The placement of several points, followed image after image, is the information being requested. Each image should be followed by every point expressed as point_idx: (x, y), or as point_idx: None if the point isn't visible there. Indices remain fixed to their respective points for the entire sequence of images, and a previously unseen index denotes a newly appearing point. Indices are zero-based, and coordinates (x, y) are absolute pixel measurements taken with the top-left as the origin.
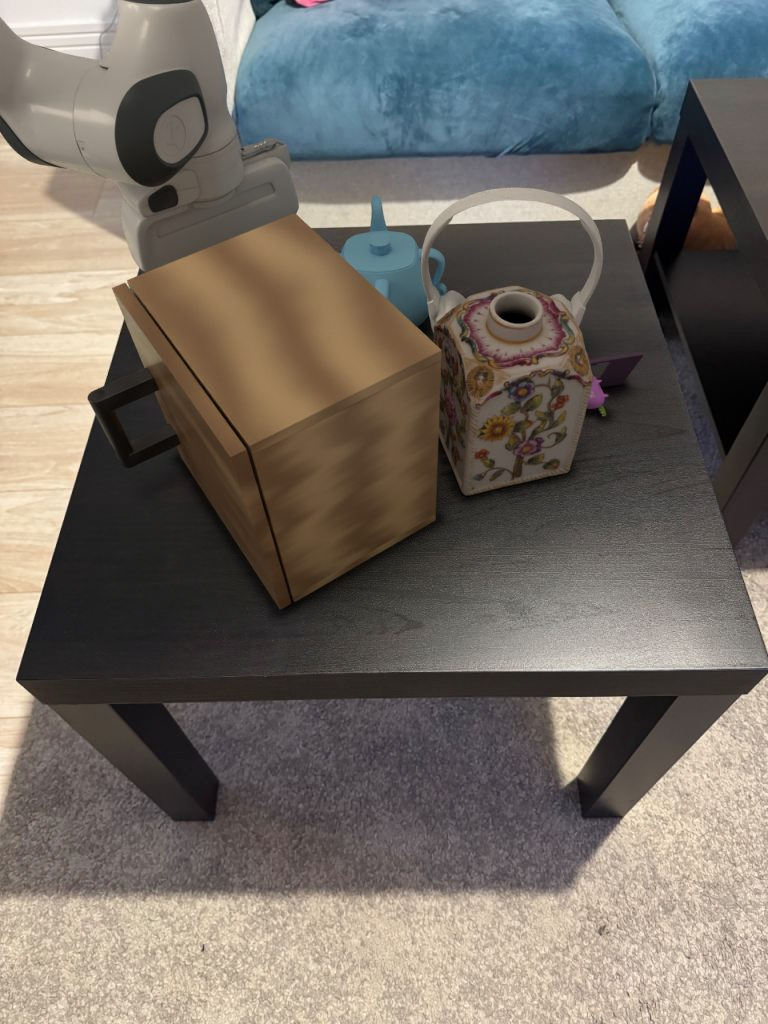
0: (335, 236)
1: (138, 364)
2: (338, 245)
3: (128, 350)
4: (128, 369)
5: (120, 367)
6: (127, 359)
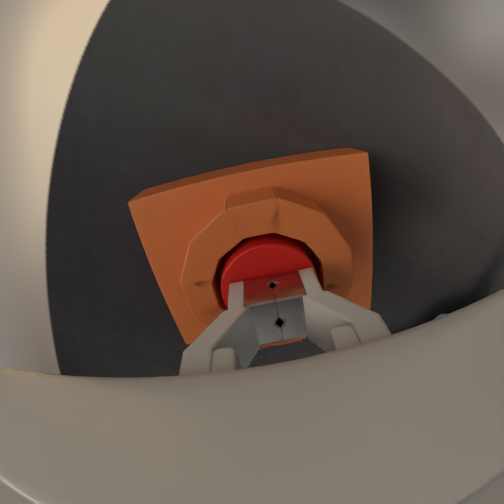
0: (500, 139)
1: (73, 327)
2: (495, 167)
3: (52, 293)
4: (62, 329)
5: (51, 320)
6: (56, 310)
